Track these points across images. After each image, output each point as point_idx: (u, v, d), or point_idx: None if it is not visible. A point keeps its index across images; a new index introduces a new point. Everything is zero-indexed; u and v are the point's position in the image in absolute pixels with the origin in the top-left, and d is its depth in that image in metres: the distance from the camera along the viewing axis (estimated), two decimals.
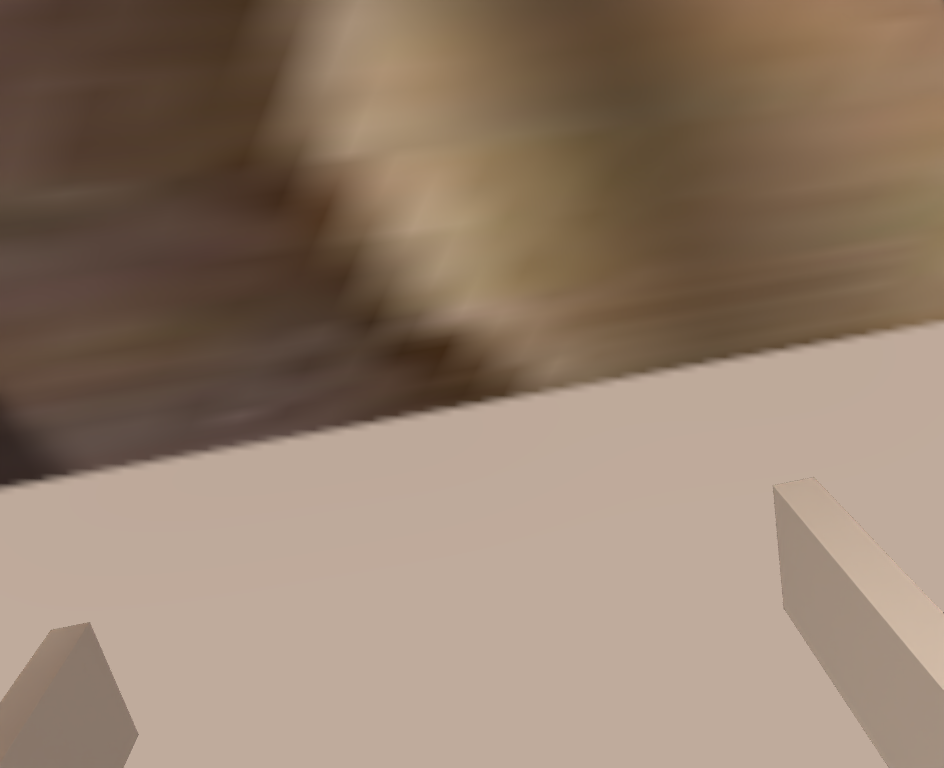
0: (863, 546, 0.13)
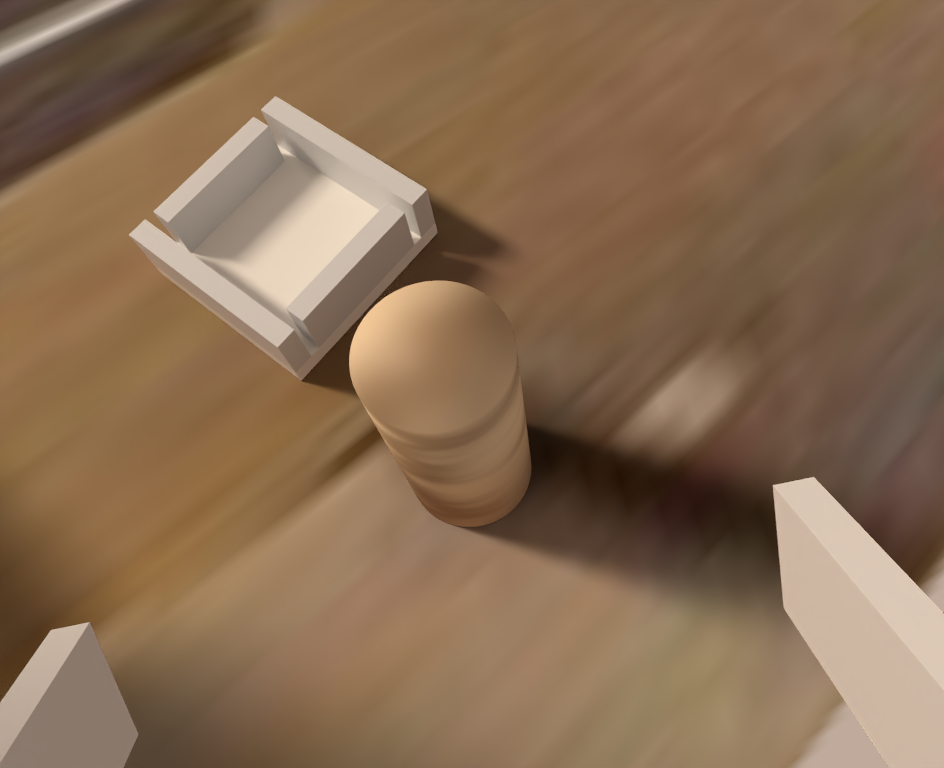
0: (863, 546, 0.13)
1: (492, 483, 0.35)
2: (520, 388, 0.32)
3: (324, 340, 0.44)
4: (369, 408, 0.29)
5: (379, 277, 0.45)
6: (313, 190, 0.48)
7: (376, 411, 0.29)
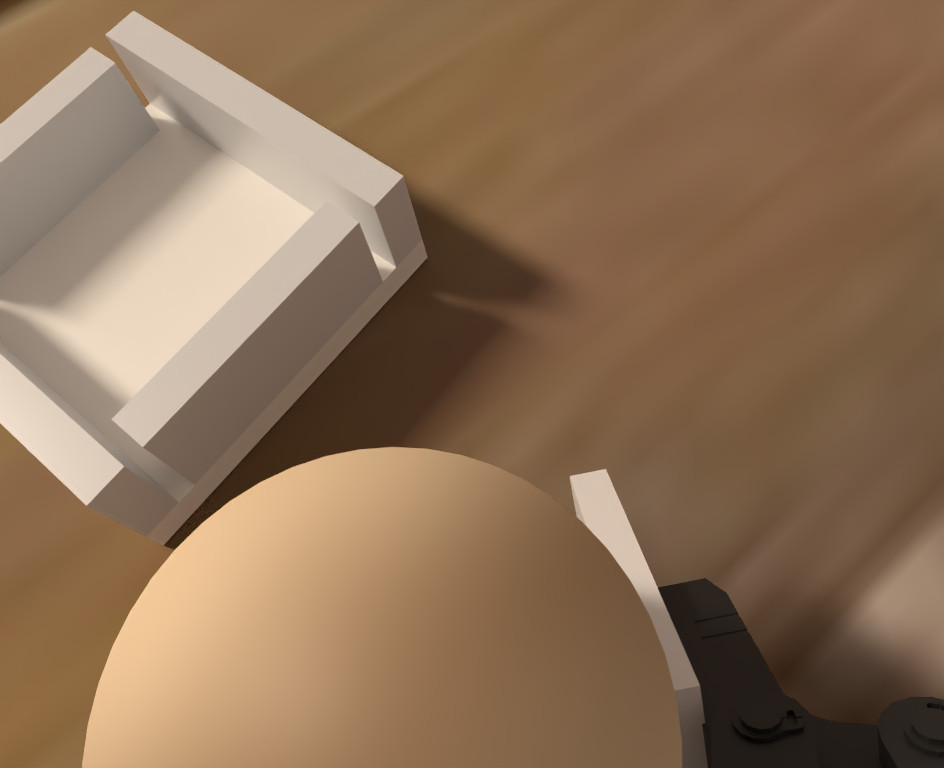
0: (618, 528, 0.15)
1: None
2: None
3: (205, 470, 0.23)
4: None
5: (314, 345, 0.24)
6: (205, 181, 0.27)
7: None
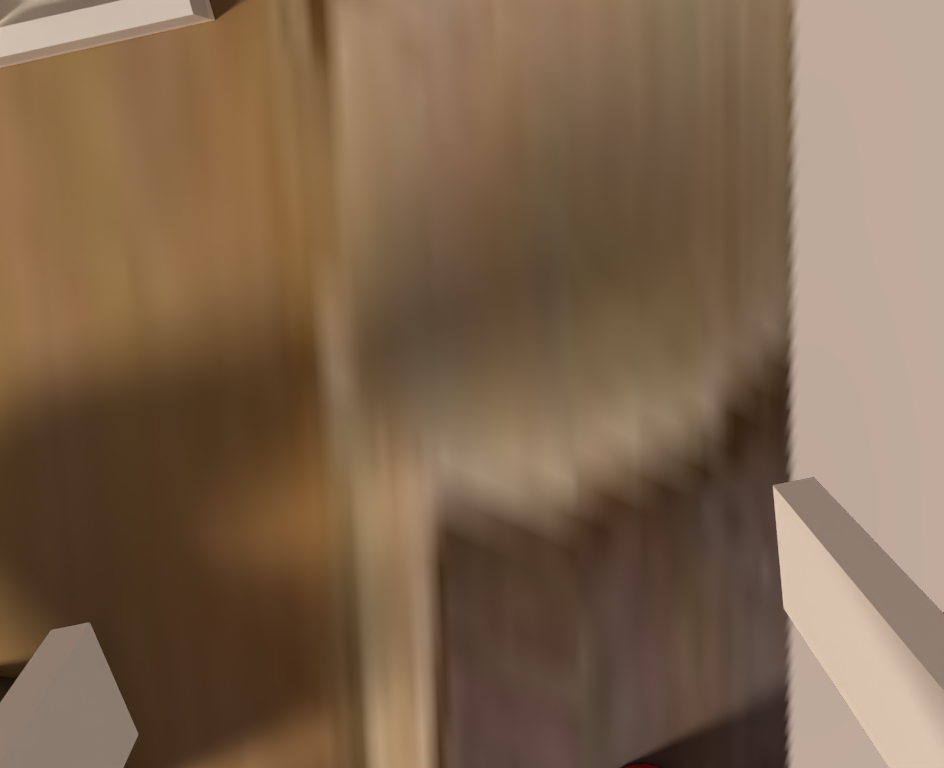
0: (863, 546, 0.13)
1: None
2: None
3: None
4: None
5: None
6: None
7: None
